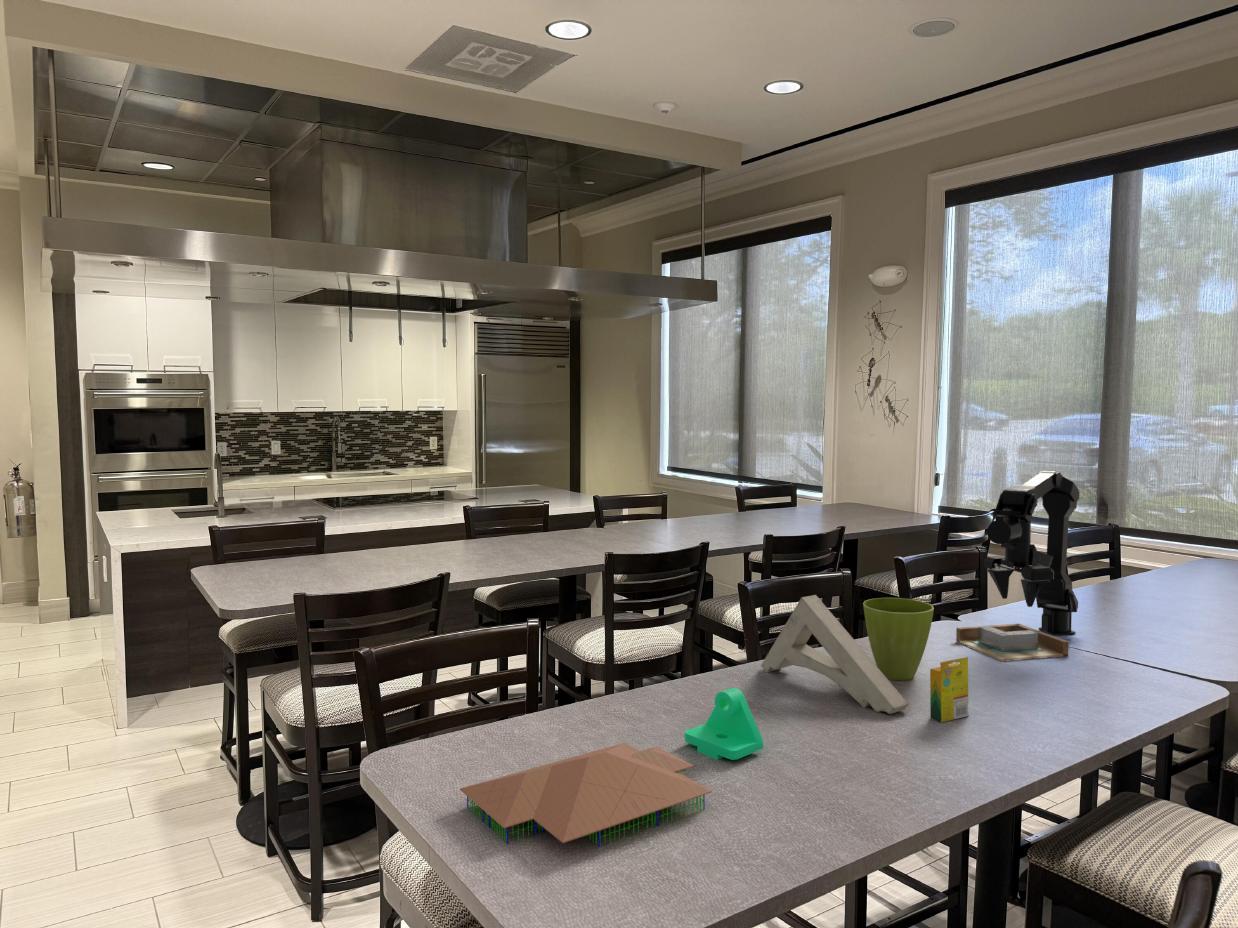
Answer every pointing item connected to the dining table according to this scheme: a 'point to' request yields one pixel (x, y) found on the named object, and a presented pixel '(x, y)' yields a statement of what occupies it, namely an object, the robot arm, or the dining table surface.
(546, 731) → the dining table surface
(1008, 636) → the angle bracket
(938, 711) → the crayon box
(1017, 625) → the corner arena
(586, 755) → the house
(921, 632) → the flower pot
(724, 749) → the camera mount
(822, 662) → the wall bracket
